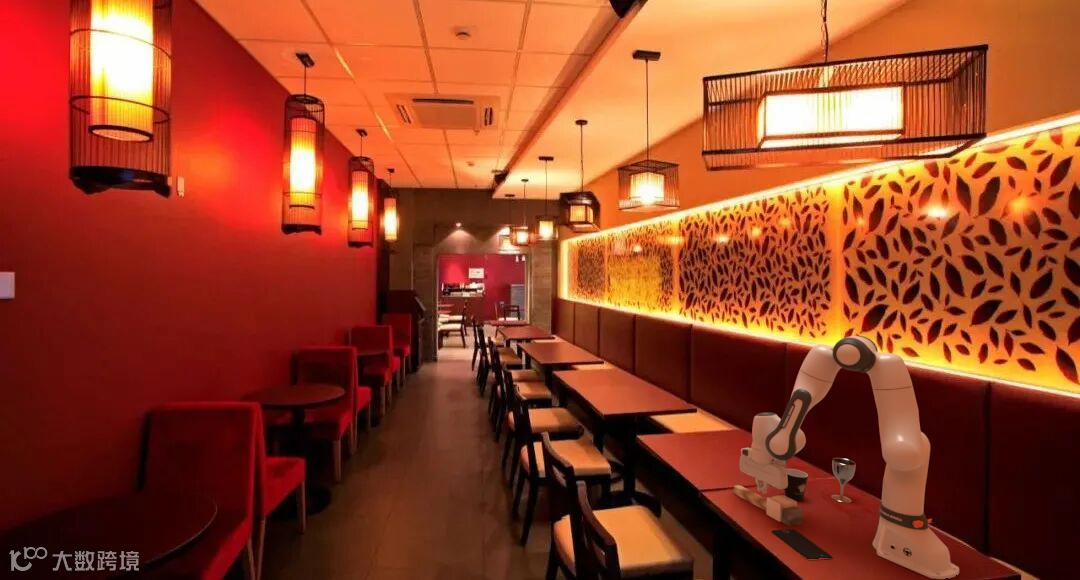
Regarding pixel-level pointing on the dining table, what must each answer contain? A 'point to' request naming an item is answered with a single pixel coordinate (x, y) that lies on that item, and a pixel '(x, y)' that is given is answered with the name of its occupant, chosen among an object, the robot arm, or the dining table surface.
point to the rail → (789, 514)
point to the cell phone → (801, 544)
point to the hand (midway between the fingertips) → (762, 491)
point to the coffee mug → (796, 484)
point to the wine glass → (843, 475)
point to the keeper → (778, 506)
